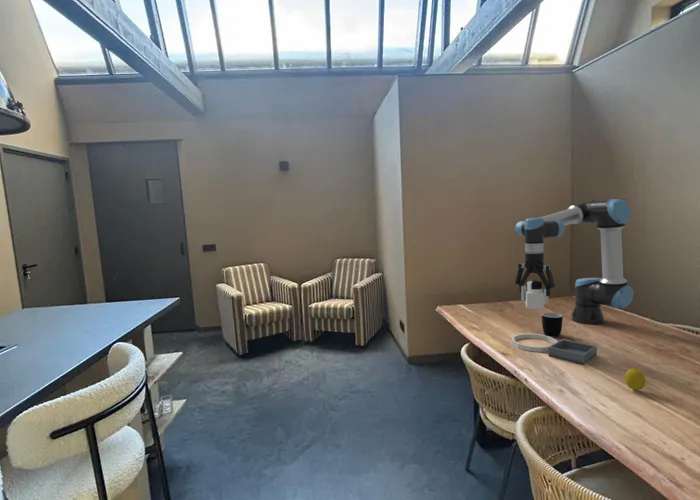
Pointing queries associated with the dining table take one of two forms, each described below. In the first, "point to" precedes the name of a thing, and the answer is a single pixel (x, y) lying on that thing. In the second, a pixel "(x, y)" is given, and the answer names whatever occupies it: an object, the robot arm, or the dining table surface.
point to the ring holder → (532, 348)
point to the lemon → (635, 379)
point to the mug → (552, 324)
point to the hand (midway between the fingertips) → (534, 301)
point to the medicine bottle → (534, 295)
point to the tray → (573, 351)
